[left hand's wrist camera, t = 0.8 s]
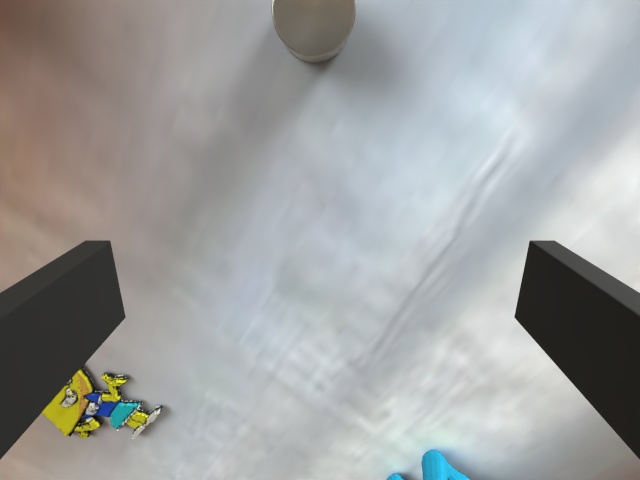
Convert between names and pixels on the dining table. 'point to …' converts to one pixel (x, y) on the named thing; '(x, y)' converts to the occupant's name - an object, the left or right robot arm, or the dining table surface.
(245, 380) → the dining table surface
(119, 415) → the toy
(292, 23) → the canister
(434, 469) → the toy
